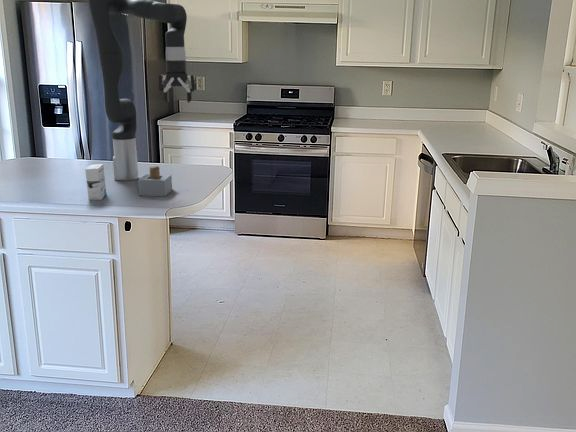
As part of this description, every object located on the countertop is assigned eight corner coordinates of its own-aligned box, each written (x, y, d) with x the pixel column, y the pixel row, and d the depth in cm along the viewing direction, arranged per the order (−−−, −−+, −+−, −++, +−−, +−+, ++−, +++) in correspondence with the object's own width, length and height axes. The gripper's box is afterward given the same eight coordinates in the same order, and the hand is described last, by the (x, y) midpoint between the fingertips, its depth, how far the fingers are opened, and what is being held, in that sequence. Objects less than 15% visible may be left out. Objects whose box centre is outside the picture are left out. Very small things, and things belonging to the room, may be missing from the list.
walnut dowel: (150, 193, 216) (148, 168, 213) (152, 191, 220) (151, 166, 217) (159, 193, 216) (157, 168, 213) (162, 191, 220) (160, 166, 217)
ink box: (93, 194, 216) (90, 163, 212) (106, 193, 216) (103, 163, 212) (87, 200, 207) (84, 168, 204) (101, 199, 208) (98, 168, 204)
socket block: (139, 195, 214) (138, 180, 212) (147, 188, 223) (146, 174, 221) (165, 196, 213) (164, 180, 211) (172, 189, 222) (171, 174, 221)
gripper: (154, 59, 213) (157, 103, 218) (191, 59, 212) (194, 103, 217) (160, 58, 220) (163, 101, 225) (196, 59, 219) (198, 101, 224)
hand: (178, 102), depth 221 cm, fingers open, 8 cm apart
